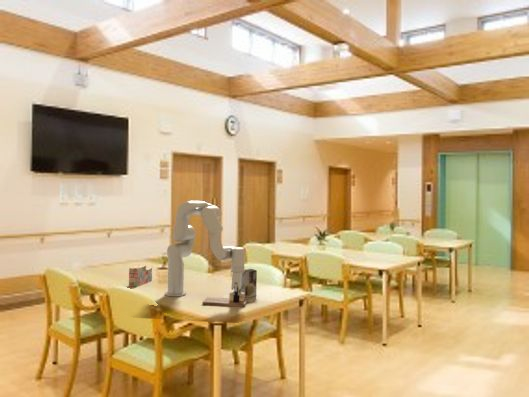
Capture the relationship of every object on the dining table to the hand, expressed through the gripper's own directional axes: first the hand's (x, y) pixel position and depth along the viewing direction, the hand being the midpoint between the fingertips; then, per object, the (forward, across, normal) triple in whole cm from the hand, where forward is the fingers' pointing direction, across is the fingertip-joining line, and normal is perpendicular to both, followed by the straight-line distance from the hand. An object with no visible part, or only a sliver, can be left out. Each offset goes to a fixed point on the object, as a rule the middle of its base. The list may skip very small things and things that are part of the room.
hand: (237, 300), depth 267 cm
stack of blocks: (+2, -43, -73) cm, 84 cm away
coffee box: (+2, -21, +3) cm, 21 cm away
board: (+2, 0, -7) cm, 7 cm away
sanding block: (0, 0, 0) cm, 0 cm away
